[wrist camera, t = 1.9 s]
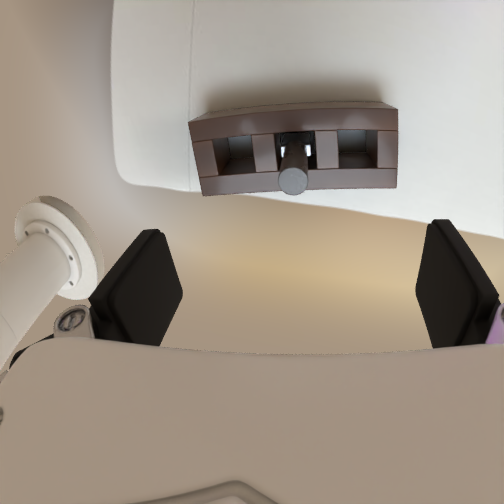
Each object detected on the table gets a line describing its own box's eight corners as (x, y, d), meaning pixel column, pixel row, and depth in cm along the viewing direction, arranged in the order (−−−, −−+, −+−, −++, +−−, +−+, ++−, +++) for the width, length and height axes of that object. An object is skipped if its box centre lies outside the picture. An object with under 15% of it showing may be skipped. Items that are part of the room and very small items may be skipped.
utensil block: (383, 169, 28) (396, 188, 24) (216, 177, 31) (202, 196, 27) (382, 102, 24) (398, 108, 20) (205, 113, 27) (187, 122, 23)
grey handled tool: (310, 146, 28) (314, 194, 18) (285, 147, 28) (274, 196, 18) (308, 128, 27) (312, 166, 17) (283, 129, 27) (271, 168, 17)
